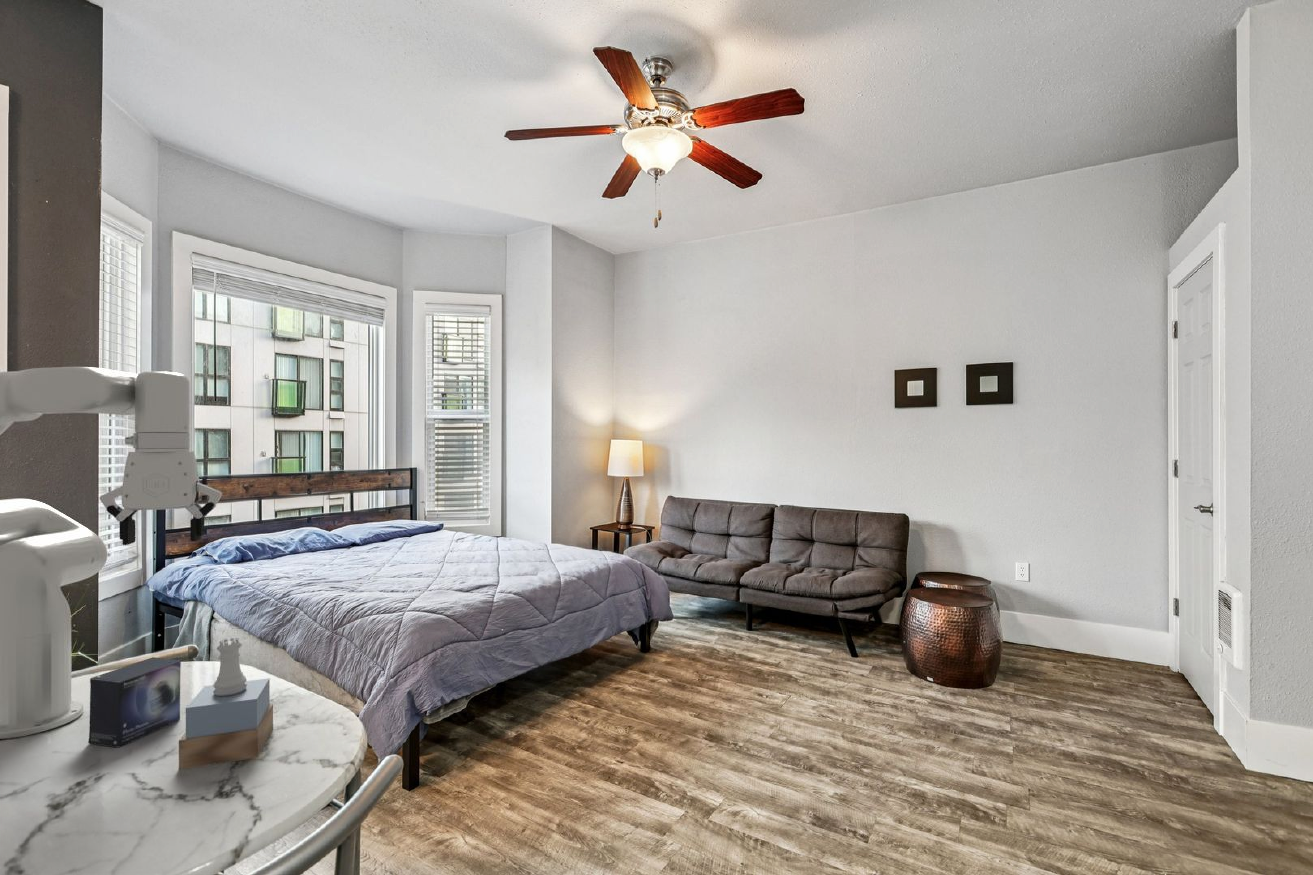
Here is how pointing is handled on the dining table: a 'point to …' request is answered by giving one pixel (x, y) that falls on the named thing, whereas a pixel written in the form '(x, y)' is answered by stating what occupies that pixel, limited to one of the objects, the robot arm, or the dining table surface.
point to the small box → (134, 701)
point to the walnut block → (225, 745)
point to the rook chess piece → (229, 669)
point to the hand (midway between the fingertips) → (162, 542)
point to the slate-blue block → (227, 710)
